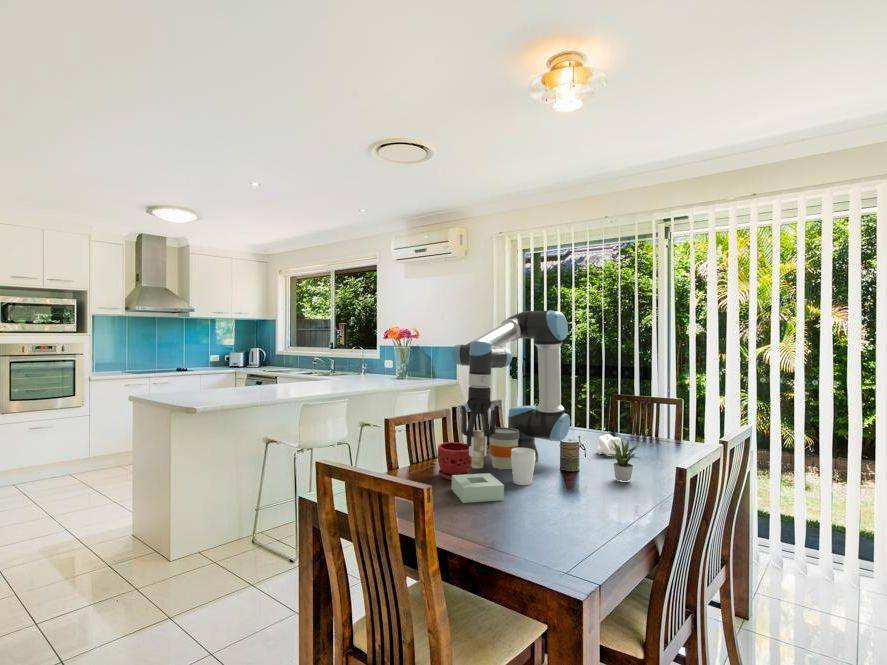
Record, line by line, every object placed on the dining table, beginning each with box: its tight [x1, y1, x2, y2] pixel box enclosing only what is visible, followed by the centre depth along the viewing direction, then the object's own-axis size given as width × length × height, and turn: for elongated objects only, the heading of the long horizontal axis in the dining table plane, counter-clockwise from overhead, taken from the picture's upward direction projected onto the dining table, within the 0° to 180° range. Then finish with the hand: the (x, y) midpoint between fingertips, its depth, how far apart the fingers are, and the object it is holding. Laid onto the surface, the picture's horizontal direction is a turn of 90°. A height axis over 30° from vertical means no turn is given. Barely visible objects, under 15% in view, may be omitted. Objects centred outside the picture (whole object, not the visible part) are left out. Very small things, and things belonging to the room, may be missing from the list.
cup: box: [511, 448, 536, 486], centre depth 190 cm, size 9×9×12 cm
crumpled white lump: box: [595, 433, 622, 457], centre depth 236 cm, size 11×12×9 cm
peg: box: [470, 429, 485, 469], centre depth 174 cm, size 4×4×12 cm
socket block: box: [451, 472, 505, 504], centre depth 175 cm, size 14×14×5 cm
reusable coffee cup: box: [488, 426, 519, 470], centre depth 211 cm, size 13×13×15 cm
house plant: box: [606, 438, 642, 481], centre depth 194 cm, size 14×14×16 cm
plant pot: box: [437, 441, 472, 481], centre depth 194 cm, size 13×13×12 cm
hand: (477, 455), depth 174 cm, fingers closed on peg, 4 cm apart
